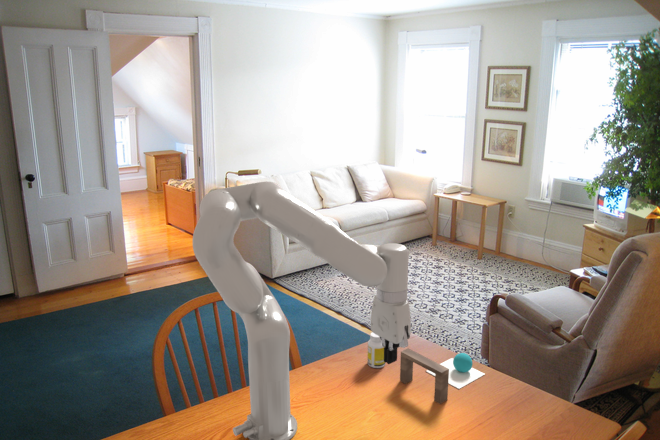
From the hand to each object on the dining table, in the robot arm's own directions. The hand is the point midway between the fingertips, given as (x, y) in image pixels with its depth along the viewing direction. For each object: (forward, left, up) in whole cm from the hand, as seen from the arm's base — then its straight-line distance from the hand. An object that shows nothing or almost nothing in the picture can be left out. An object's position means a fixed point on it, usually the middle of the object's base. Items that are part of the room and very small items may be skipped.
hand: (390, 361), depth 133 cm
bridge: (+13, 0, -13) cm, 19 cm away
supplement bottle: (+13, +18, -14) cm, 26 cm away
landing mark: (+27, 0, -13) cm, 30 cm away
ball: (+29, -1, -11) cm, 31 cm away
